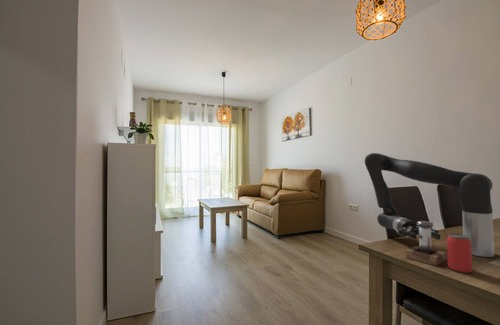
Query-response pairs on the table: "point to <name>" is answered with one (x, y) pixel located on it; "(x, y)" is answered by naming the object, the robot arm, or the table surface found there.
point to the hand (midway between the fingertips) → (427, 236)
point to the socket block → (426, 256)
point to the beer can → (459, 253)
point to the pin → (425, 237)
